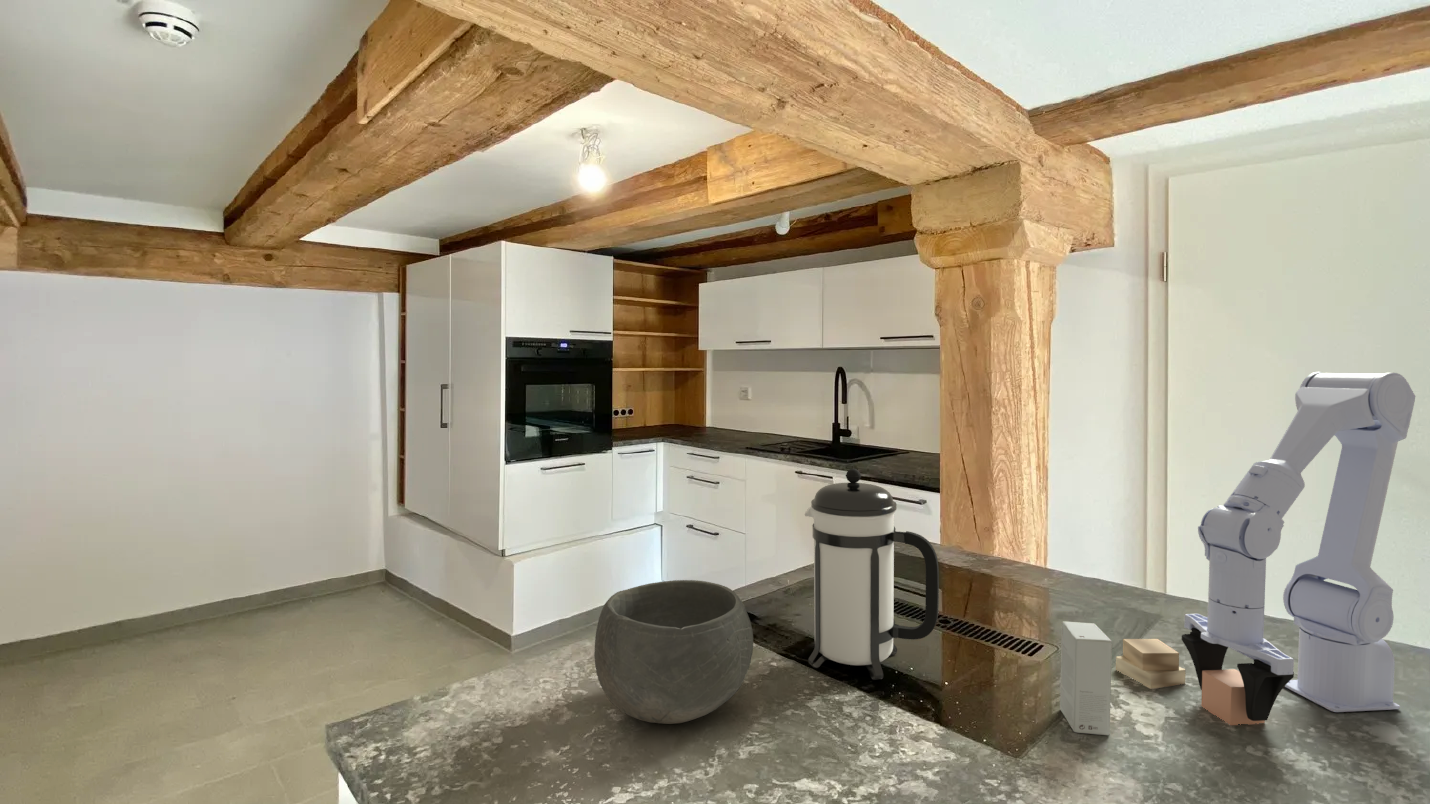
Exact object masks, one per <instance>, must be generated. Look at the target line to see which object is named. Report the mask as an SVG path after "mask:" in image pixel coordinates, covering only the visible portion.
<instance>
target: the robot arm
mask: <svg viewBox="0 0 1430 804" xmlns="http://www.w3.org/2000/svg"><path fill="white" fill-rule="evenodd" d="M1294 400H1295V406H1296V409H1297V411H1296V413H1295V415H1294V417H1293V418H1292V420H1291V422H1290V423H1289V425H1288V427H1287V428H1286V430H1285V433H1284V434H1283V436H1282V438H1281V439H1280V441H1279V442H1278V444H1277V446H1276V447H1275V450H1274V452H1273V453H1272V454H1271V457H1270V458H1269V459H1266V460H1259V461H1256V462H1254V463H1253V464H1252V465H1251V466H1250V468H1249V469H1248V471H1247V472H1246V473H1245V475H1244V476H1243V478H1242V479H1241V480H1240V481H1239V483H1238V484H1237V485H1236V487H1235V489H1234V490H1233V491H1232V493H1231V494H1230V495H1229V497H1228V498H1227V499H1226V501H1225V502H1224V503H1223V505H1218V506H1217V507H1213V508H1210V509H1209V510H1207V511H1206V512H1205V513H1204V515H1203V517H1202V519H1201V522H1200V525H1199V526H1197V533H1198V537H1199V540H1200V541H1201V542H1202V544H1203V547H1204V556H1205V557H1206V558H1205V559H1206V560H1207V561H1209V563H1208V565H1209V566H1208V567H1209V568H1208V589H1207V590H1208V592H1207V597H1208V598H1207V616H1204V615H1202V614H1200V613H1185V614H1184V621H1183V622H1184V624H1183V625H1184V626H1183V627H1184V628H1185V629H1186V630H1189V631H1190V632H1189V633H1184V634H1181V641H1182V643H1183V644H1184V646H1185V648H1186V649H1187V652H1188V653H1189V654H1188V655H1189V656H1190V658H1191V661H1192V663H1193V666H1194V670H1195V673H1196V677H1197V681H1198V684H1199V688H1200V690H1201V691H1202V671H1205V670H1223V665H1224V660H1225V657H1226V654H1227V651H1228V649H1231V650H1233V651H1235V652H1237V653H1239V654H1241V655H1242V656H1245V657H1247V658H1250V659H1251V660H1253V663H1252V662H1246V663H1243V662H1242V663H1237V664H1236V665H1237V666H1236V667H1237V670H1238V671H1239V672H1240V674H1241V677H1242V680H1243V684H1244V688H1245V699H1246V713H1247V717H1248V719H1250V720H1252V721H1264V720H1265V721H1268V719H1269V717H1270V714H1271V711H1272V709H1273V706H1274V704H1275V702H1276V699H1277V697H1278V696H1279V694H1280V693H1281V691H1282V690H1283V689H1284V688H1286V689H1288V690H1290V691H1292V692H1294V693H1296V694H1298V695H1300V696H1302V697H1304V698H1306V699H1308V700H1309V701H1311V702H1313V703H1315V704H1317V705H1318V706H1321V707H1323V708H1324V709H1327V710H1328V711H1330V712H1334V713H1344V712H1347V713H1348V712H1365V711H1367V712H1369V711H1386V710H1388V711H1389V710H1400V707H1401V705H1399V704H1398V703H1396V702H1394V688H1395V685H1394V684H1395V668H1396V667H1395V666H1396V665H1395V663H1396V662H1395V655H1394V653H1393V650H1392V649H1391V647H1390V645H1389V644H1388V642H1386V641H1385V640H1384V638H1385V637H1386V636H1387V635H1388V634H1389V633H1390V631H1391V629H1392V628H1393V623H1394V611H1393V606H1392V605H1393V604H1392V603H1393V593H1394V589H1393V588H1392V586H1391V585H1389V584H1388V582H1386V581H1385V580H1384V579H1383V578H1382V577H1380V575H1378V573H1376V571H1374V570H1373V569H1372V567H1371V565H1372V561H1373V556H1374V552H1375V546H1376V544H1377V539H1378V533H1379V528H1380V524H1381V520H1382V517H1383V516H1382V515H1383V511H1384V505H1385V502H1386V496H1387V493H1388V488H1389V483H1390V479H1391V475H1392V470H1393V466H1394V462H1395V457H1396V452H1397V448H1398V443H1399V442H1400V441H1402V440H1403V441H1404V439H1405V440H1406V438H1407V436H1408V431H1409V428H1410V424H1411V419H1412V416H1413V415H1412V414H1413V412H1414V411H1413V410H1414V406H1415V401H1416V395H1415V393H1414V391H1413V389H1412V387H1411V385H1410V383H1409V382H1408V380H1407V379H1406V378H1405V377H1404V375H1402V374H1400V373H1398V372H1390V371H1389V372H1385V373H1361V372H1360V373H1357V372H1355V373H1350V372H1349V373H1348V372H1340V373H1339V372H1338V373H1337V372H1336V373H1335V372H1323V371H1322V372H1321V371H1315V372H1312V373H1309V374H1308V375H1307V376H1306V377H1305V378H1304V379H1303V381H1302V383H1301V384H1300V386H1299V388H1298V390H1296V392H1295V395H1294ZM1334 437H1336V439H1337V440H1338V441H1339V442H1340V444H1341V450H1340V454H1339V458H1338V464H1337V468H1336V472H1335V477H1334V481H1333V487H1332V491H1331V494H1330V500H1329V503H1328V509H1327V514H1326V518H1325V522H1324V525H1323V527H1324V528H1323V531H1322V534H1321V535H1322V536H1321V541H1320V544H1319V549H1318V554H1317V556H1315V557H1313V558H1310V559H1307V560H1304V561H1302V562H1299V563H1298V564H1296V565H1295V567H1294V571H1293V574H1292V577H1291V578H1290V580H1289V582H1288V583H1287V584H1286V585H1285V588H1284V590H1283V595H1282V600H1283V605H1284V608H1285V611H1286V612H1287V614H1288V615H1290V617H1292V618H1293V625H1294V626H1297V627H1299V631H1298V657H1297V658H1298V659H1297V661H1298V662H1297V679H1294V677H1295V673H1294V672H1295V671H1294V666H1295V664H1294V663H1295V659H1294V658H1293V657H1291V656H1289V655H1287V654H1286V653H1284V652H1283V651H1281V650H1280V649H1279V648H1277V647H1276V646H1275V645H1274V644H1273V643H1271V642H1270V641H1268V640H1267V639H1266V638H1264V635H1265V633H1264V631H1265V629H1264V628H1265V601H1266V578H1267V577H1266V576H1267V574H1266V573H1267V558H1269V557H1270V556H1272V555H1273V554H1274V552H1275V551H1276V550H1278V548H1279V546H1280V542H1281V538H1282V537H1281V536H1282V529H1283V528H1284V527H1285V525H1284V524H1285V520H1284V519H1283V518H1284V517H1285V515H1286V514H1287V512H1288V511H1289V510H1290V508H1291V507H1292V505H1293V504H1294V503H1295V501H1296V500H1297V498H1298V497H1299V496H1300V495H1301V493H1302V492H1303V490H1304V489H1305V486H1306V485H1305V480H1304V477H1303V476H1302V473H1303V471H1304V470H1305V469H1307V467H1308V465H1310V464H1311V462H1312V461H1313V460H1314V459H1315V457H1317V455H1319V454H1320V452H1321V451H1322V450H1323V448H1324V447H1326V446H1327V445H1328V443H1329V442H1330V440H1331V439H1333V438H1334ZM1328 579H1329V580H1332V581H1336V582H1339V583H1342V584H1347V585H1349V586H1351V587H1348V586H1345V585H1340V584H1336V583H1334V582H1330V581H1326V580H1328ZM1352 587H1354V588H1352Z"/></svg>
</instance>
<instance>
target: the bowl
mask: <svg viewBox="0 0 1430 804" xmlns="http://www.w3.org/2000/svg"><path fill="white" fill-rule="evenodd" d="M753 649H754V633H753V627H752V623H751V619H750V617H749V614H748V611H747V609H746V607H745V605H744V602H743V601H742V600H741V598H740V597H739V596H738V594H737V593H736V592H735V591H734V590H732V589H731V588H729V587H727V586H725V585H722V584H719V583H715V582H712V581H711V582H710V581H704V580H697V579H696V580H695V579H678V580H677V579H676V580H665V581H664V580H663V581H656V582H652V583H645V584H641V585H639V586H634V587H630V588H627V589H623V590H620V591H616V592H614V594H612V595H611V596H610V597H609V598H608V599H607V600H606V602H605V603H604V604H603V606H602V610H601V612H600V615H599V616H598V621H597V625H596V631H595V638H594V651H593V652H594V655H593V656H594V665H595V666H594V667H595V671H596V675H597V680H598V681H599V685H600V688H601V689H602V691H603V692H604V694H605V696H606V697H607V699H608V700H609V701H610V703H611V704H613V705H614V706H615V707H616V708H617V709H619V710H620V711H621V712H623V713H624V714H625V715H627V716H629V717H632V718H634V719H637V720H639V721H643V722H647V723H652V724H653V723H654V724H655V723H656V724H667V725H668V724H669V725H673V724H682V723H687V722H689V721H693V720H696V719H698V718H701V717H704V716H706V715H708V714H710V713H712V712H714V711H716V710H718V708H720V707H721V706H722V705H724V704H725V703H726V702H727V701H729V700H730V699H731V698H732V697H733V696H734V695H735V694H736V693H737V692H738V690H739V689H740V688H741V686H742V684H743V682H744V680H745V679H746V676H747V673H748V670H749V668H750V665H751V662H752V657H753V651H754V650H753Z"/></svg>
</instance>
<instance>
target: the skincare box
mask: <svg viewBox="0 0 1430 804" xmlns="http://www.w3.org/2000/svg"><path fill="white" fill-rule="evenodd" d="M1060 643H1061V645H1060V646H1061V648H1060V649H1061V650H1060V651H1061V652H1060V689H1059V690H1060V691H1059V692H1060V695H1059V696H1060V697H1059V709H1060V712H1061V713H1062V715H1063V716H1064V717H1065V719H1066V720H1067V722H1068V725H1069V726H1070V727H1071V729H1072V732H1074V733H1078V734H1091V735H1102V736H1110V734H1111V700H1112V698H1111V696H1112V693H1111V692H1112V659H1113V658H1112V654H1113V653H1112V652H1113V651H1112V650H1113V649H1112V648H1113V644H1112V643H1113V641H1112V640H1111V639H1110V638H1109V636H1107V635H1106V633H1105V632H1104V631H1102V629H1100V627H1099V626H1097V625H1096V623H1093V622H1092V623H1091V622H1079V621H1078V622H1077V621H1066V620H1065V621H1064V620H1063V621H1062V622H1061V642H1060Z"/></svg>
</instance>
